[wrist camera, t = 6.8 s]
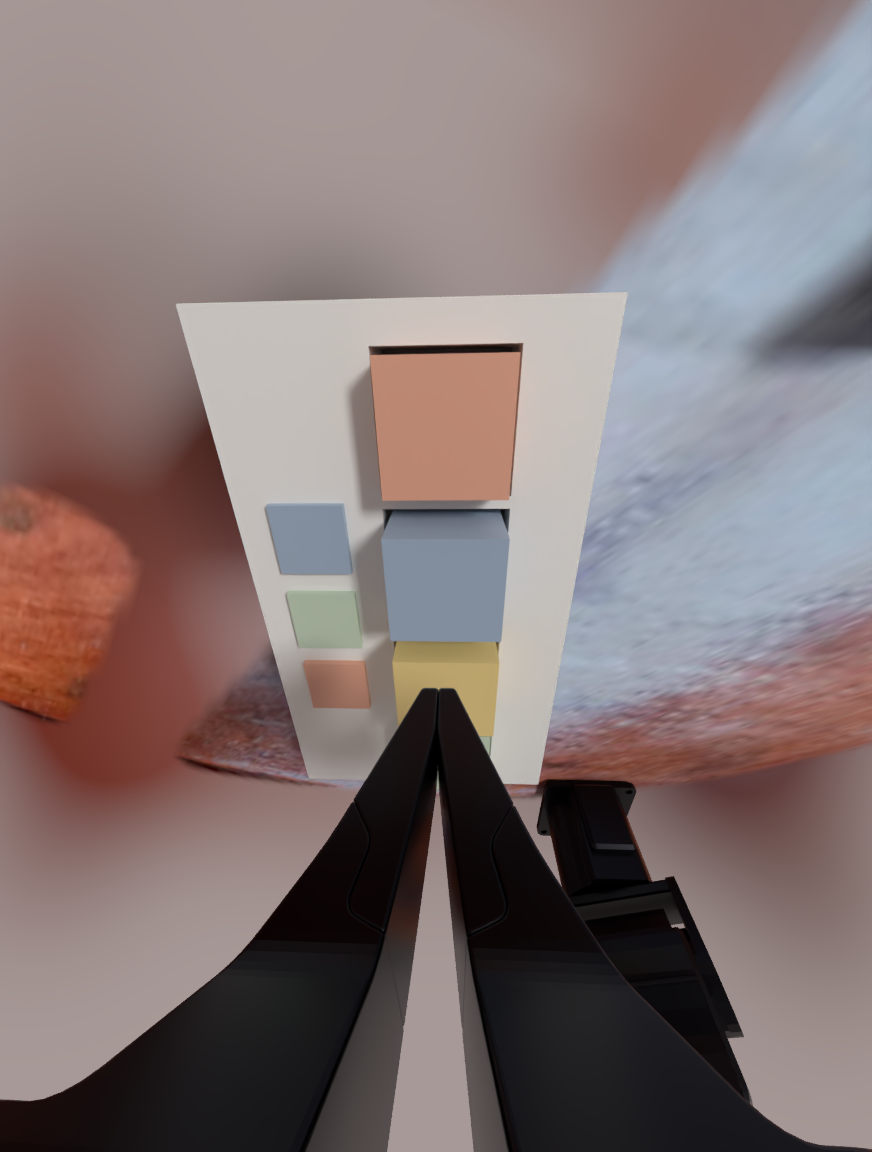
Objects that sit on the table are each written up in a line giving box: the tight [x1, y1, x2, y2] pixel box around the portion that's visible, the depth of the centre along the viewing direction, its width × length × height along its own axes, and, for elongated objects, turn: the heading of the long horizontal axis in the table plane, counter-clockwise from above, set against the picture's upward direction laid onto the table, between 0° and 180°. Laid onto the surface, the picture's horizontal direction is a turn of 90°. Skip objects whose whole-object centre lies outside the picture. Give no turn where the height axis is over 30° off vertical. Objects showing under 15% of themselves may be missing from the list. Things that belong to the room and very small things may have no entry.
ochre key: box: [392, 641, 499, 736], centre depth 18 cm, size 4×4×4 cm
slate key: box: [381, 509, 510, 642], centre depth 16 cm, size 4×4×4 cm
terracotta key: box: [370, 352, 520, 501], centre depth 14 cm, size 4×4×4 cm
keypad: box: [176, 292, 628, 785], centre depth 19 cm, size 24×14×4 cm, turn 1°
